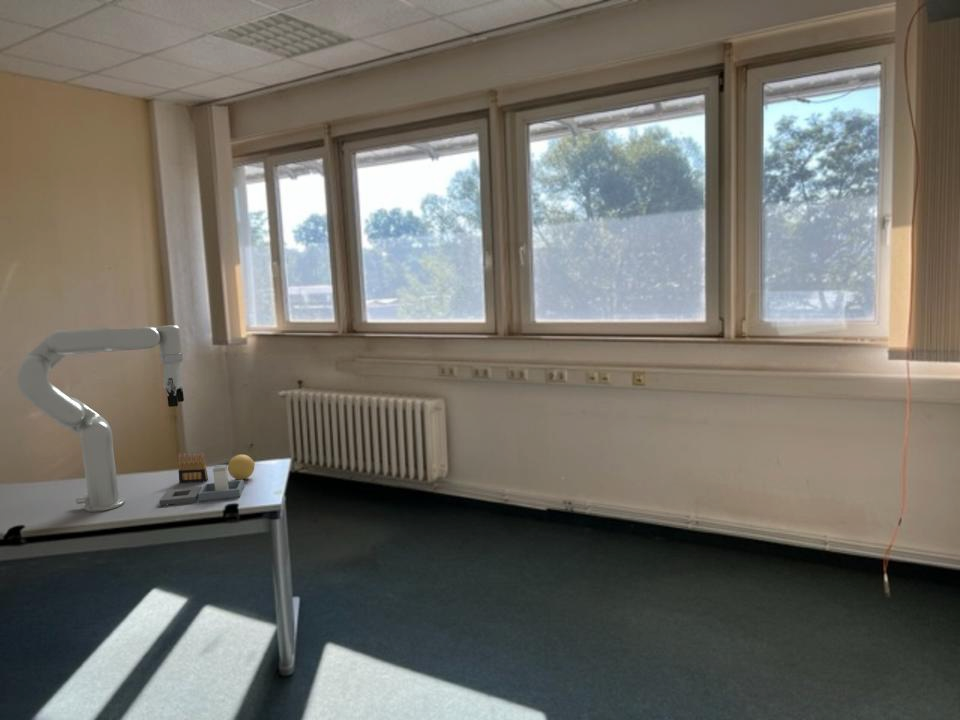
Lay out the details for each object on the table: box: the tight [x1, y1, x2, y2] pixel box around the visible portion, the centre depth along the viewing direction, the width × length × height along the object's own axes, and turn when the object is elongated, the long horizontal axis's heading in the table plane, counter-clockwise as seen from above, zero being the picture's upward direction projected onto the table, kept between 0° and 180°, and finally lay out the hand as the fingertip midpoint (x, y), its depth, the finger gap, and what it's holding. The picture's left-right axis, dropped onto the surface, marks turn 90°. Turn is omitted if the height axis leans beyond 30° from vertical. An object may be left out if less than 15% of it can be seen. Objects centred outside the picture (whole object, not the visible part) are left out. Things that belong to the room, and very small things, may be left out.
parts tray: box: [198, 479, 245, 503], centre depth 241 cm, size 14×12×3 cm
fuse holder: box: [158, 486, 203, 506], centre depth 238 cm, size 12×12×2 cm
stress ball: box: [227, 454, 255, 480], centre depth 258 cm, size 10×10×10 cm
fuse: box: [212, 464, 229, 491], centre depth 241 cm, size 4×4×10 cm
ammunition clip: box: [177, 451, 209, 484], centre depth 258 cm, size 11×2×12 cm, turn 91°
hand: (176, 403), depth 245 cm, fingers open, 9 cm apart
